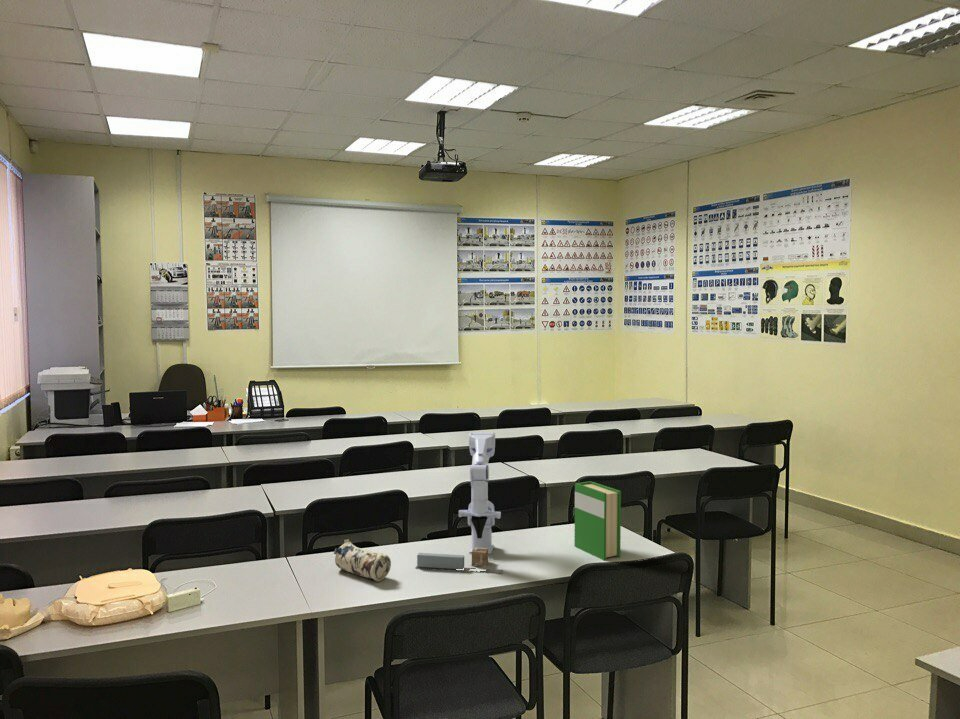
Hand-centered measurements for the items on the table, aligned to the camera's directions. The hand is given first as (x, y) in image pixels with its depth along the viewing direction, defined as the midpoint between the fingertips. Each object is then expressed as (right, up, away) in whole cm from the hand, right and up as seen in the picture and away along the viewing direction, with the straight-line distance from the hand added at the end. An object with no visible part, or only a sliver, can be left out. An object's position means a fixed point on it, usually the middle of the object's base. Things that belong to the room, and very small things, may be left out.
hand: (479, 537), depth 251 cm
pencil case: (-39, -10, -9) cm, 41 cm away
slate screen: (-13, -10, -4) cm, 17 cm away
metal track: (-7, -10, -5) cm, 13 cm away
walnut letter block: (0, -10, +1) cm, 10 cm away
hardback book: (+43, -9, +14) cm, 46 cm away
